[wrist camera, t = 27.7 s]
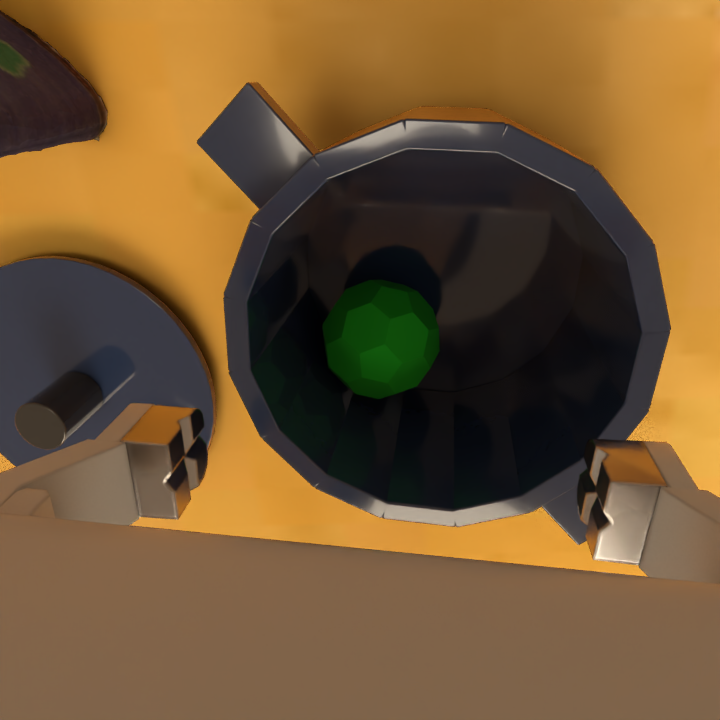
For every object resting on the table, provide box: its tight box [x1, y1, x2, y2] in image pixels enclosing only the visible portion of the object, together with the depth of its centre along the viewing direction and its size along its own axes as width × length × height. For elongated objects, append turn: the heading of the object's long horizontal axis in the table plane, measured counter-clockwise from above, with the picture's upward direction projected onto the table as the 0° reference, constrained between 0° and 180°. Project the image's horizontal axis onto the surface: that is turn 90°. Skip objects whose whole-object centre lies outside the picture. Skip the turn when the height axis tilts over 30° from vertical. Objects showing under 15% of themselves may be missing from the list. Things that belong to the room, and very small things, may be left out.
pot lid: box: [0, 256, 216, 467], centre depth 31 cm, size 15×15×5 cm
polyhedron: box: [322, 280, 440, 399], centre depth 25 cm, size 5×5×5 cm
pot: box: [197, 82, 671, 545], centre depth 23 cm, size 14×19×10 cm
